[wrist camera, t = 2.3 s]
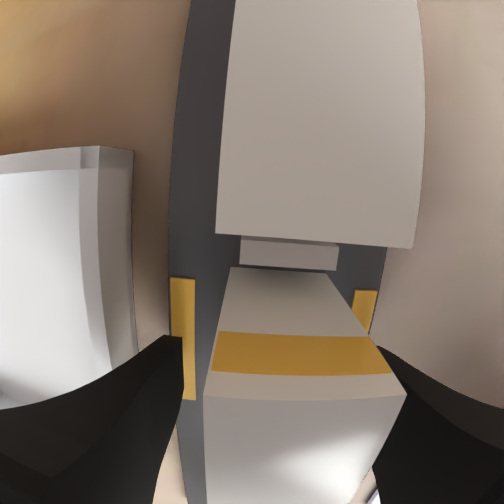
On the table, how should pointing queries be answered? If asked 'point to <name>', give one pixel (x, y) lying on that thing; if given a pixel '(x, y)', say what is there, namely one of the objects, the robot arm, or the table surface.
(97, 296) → the tray
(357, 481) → the block
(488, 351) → the table surface
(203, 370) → the block
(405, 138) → the block
